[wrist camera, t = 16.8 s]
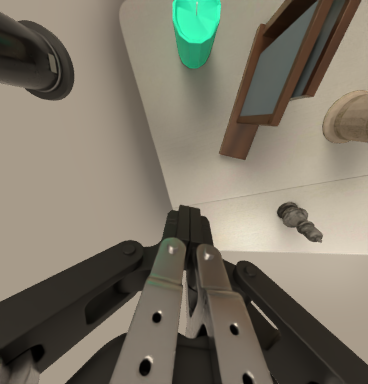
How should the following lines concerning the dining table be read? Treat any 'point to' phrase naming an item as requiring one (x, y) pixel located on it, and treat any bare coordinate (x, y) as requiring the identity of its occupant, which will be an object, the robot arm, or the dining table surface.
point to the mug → (348, 118)
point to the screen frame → (312, 72)
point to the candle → (195, 29)
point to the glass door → (282, 68)
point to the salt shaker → (299, 221)
